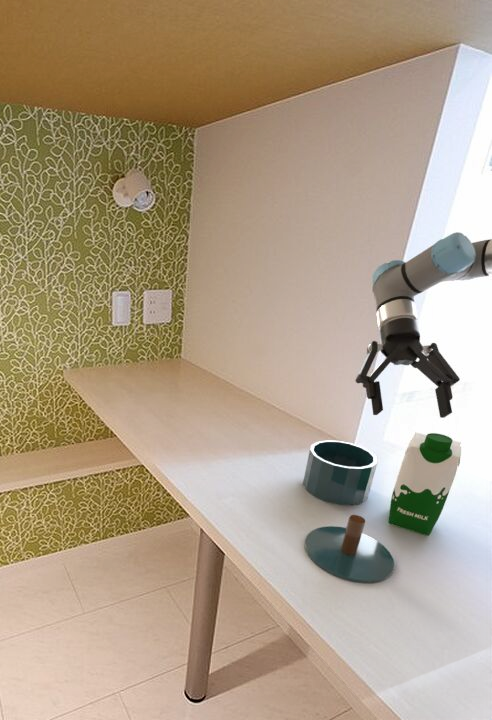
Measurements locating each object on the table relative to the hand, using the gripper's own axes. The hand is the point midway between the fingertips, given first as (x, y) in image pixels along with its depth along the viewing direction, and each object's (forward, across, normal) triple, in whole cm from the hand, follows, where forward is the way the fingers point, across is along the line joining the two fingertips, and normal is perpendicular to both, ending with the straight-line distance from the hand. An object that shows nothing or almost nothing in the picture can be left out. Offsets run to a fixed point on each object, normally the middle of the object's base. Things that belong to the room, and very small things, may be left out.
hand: (412, 414), depth 89 cm
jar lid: (+29, +17, +2) cm, 34 cm away
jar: (+13, +12, -14) cm, 23 cm away
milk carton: (+22, 0, -6) cm, 23 cm away
